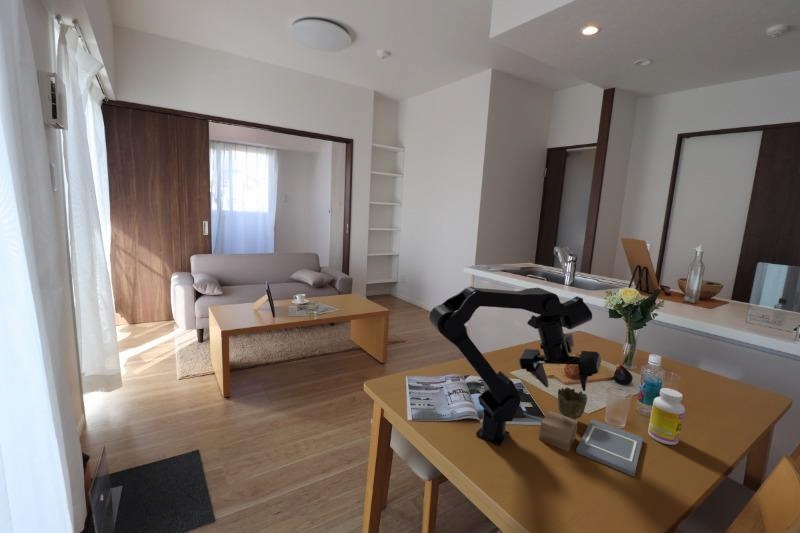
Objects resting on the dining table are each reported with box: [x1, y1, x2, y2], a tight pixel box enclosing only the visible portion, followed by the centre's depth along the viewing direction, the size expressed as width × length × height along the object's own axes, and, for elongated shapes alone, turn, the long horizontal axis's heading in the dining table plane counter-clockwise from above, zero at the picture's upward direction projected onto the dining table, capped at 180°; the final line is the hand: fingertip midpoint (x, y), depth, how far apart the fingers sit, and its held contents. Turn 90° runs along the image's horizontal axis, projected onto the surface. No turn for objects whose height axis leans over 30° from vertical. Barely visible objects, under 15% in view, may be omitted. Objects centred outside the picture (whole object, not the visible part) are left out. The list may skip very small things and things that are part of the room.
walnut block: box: [538, 410, 579, 452], centre depth 94 cm, size 7×7×5 cm
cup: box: [557, 387, 588, 421], centre depth 102 cm, size 8×7×8 cm
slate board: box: [575, 419, 644, 477], centre depth 92 cm, size 17×12×1 cm
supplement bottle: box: [647, 387, 686, 446], centre depth 96 cm, size 7×7×13 cm
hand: (565, 388), depth 97 cm, fingers open, 9 cm apart
